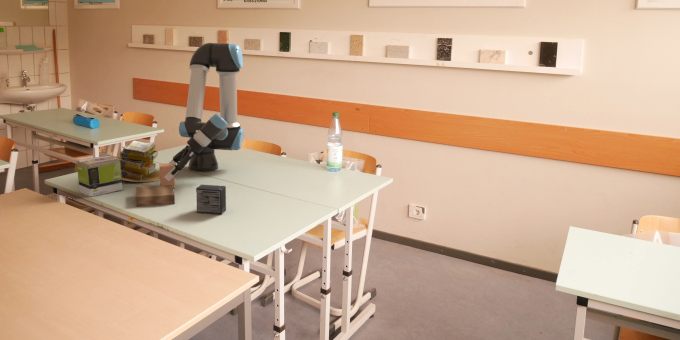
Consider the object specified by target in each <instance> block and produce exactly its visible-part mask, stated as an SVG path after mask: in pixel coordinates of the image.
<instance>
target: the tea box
mask: <svg viewBox="0 0 680 340" xmlns="http://www.w3.org/2000/svg"><path fill="white" fill-rule="evenodd" d="M119 158H120V157H119ZM119 158H118V157H114V156H111V155H110V154H109V155H101V156H97V157H92V158H91V157H90V158H86V159H79V160H76V169H77V180H78V188H79V192H80V193H81V194H83V195H85V196H88V197H95V196H96V197H97V196H100V195H105V194H110V193H114V192H118V191H123V180H122V176H121V165H120V159H119Z"/></svg>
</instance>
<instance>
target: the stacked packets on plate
mask: <svg viewBox="0 0 680 340" xmlns="http://www.w3.org/2000/svg"><path fill="white" fill-rule="evenodd" d="M158 153H159V152H158V150H156V143H155V142H154V141H152V142H144V141H139V140H138V141H137V140H132V141H131V142H129V143H128V144H127V145H125V146H124V147H122V150H121V151H120V152H119V157H117V158H119V159H120V165H121V176H122V181H127V182H134V183H135V182H136V183H148V182H149V183H150V182H156V181H160V169H158V168H156V166H157V164H156V163H154V161H155V160H156V159H157V157H158Z"/></svg>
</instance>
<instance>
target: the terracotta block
mask: <svg viewBox="0 0 680 340" xmlns="http://www.w3.org/2000/svg"><path fill="white" fill-rule="evenodd" d="M173 168H174V165H173V163H170V164H168V163H159V170H160V179H159V183H160V185H159V186H162V185H172V187H173V190H175V189H176V186H175V184H176V182H175V176H174V177H173V178H172V179H171V180H170V181H168V180H167V179H166V178H164V177H165V176H166V175H167V174H168V173H169V172H170V171H171V170H172V169H173Z"/></svg>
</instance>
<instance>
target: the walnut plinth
mask: <svg viewBox="0 0 680 340" xmlns="http://www.w3.org/2000/svg"><path fill="white" fill-rule="evenodd" d="M135 201H136V204H135V205H136V207H149V206H161V205H162V206H163V205H175V203H176V202H175V201H176V200H175V191H174V189H173V187H172V185H162V186H160V185H147V186H136V187H135Z"/></svg>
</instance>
